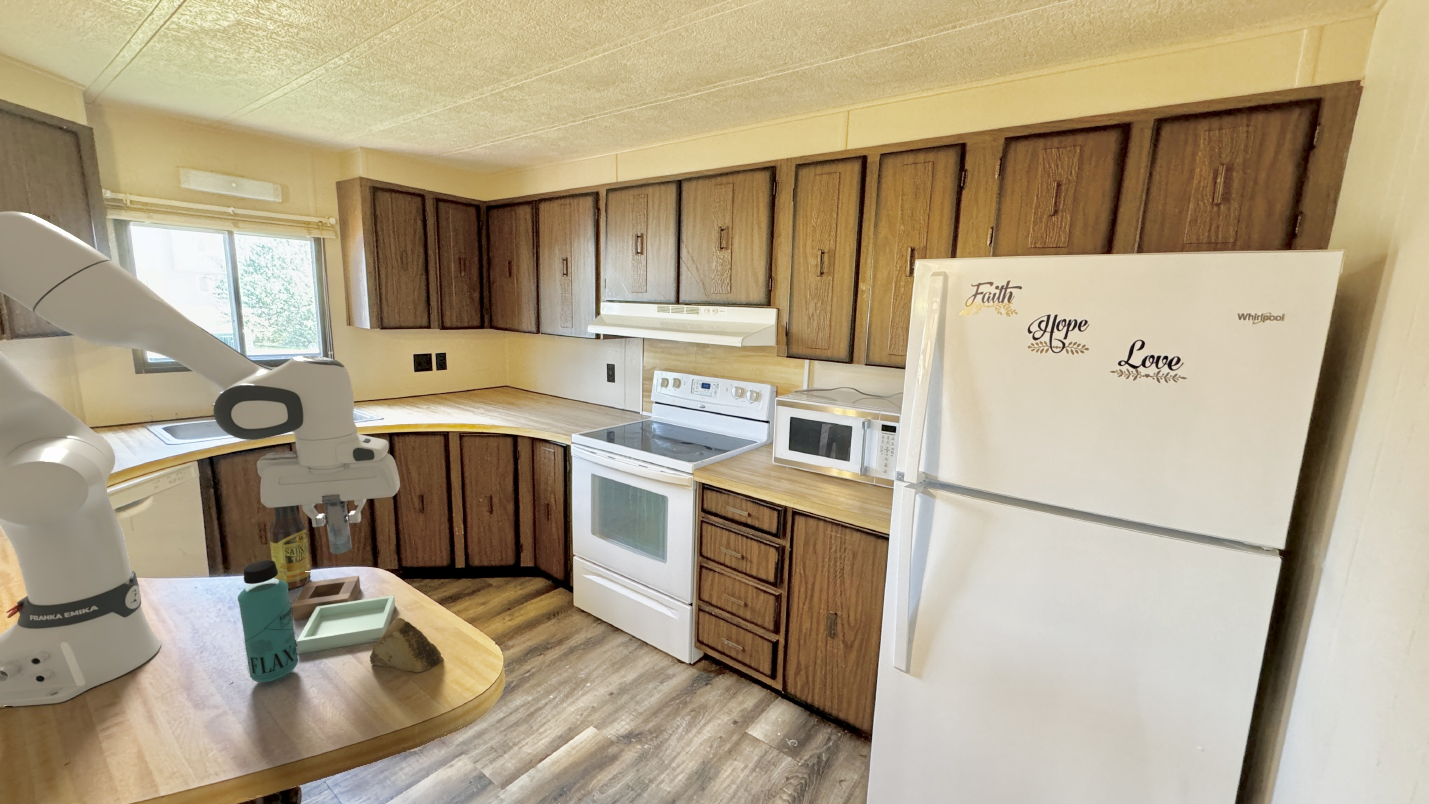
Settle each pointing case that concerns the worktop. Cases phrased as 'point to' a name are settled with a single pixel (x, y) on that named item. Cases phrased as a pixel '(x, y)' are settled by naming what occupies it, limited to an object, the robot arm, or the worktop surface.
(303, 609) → the collar
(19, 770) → the worktop surface
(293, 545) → the sauce bottle
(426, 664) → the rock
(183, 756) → the worktop surface
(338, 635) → the dish
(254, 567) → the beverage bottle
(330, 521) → the pin
